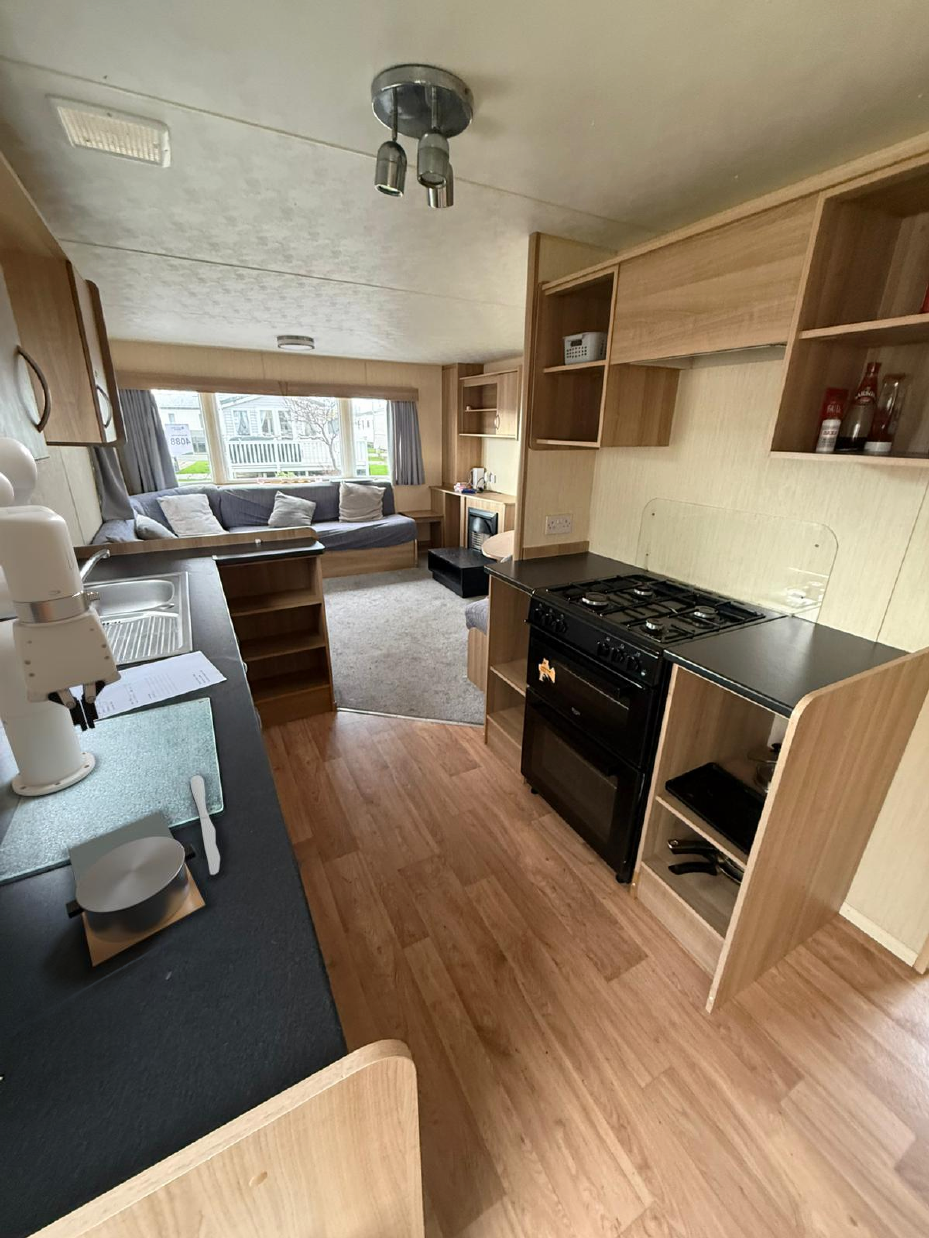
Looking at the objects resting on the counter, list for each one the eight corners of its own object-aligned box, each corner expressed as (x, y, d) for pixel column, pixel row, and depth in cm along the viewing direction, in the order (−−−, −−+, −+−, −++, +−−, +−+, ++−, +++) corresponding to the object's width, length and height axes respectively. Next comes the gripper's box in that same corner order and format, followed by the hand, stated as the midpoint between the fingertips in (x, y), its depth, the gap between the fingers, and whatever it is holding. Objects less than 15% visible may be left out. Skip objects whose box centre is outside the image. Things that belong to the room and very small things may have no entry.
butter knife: (206, 771, 97) (189, 776, 96) (227, 869, 76) (205, 877, 74) (206, 774, 98) (189, 778, 96) (227, 872, 76) (205, 880, 75)
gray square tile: (68, 851, 79) (68, 849, 79) (161, 812, 88) (160, 811, 88) (79, 902, 71) (79, 900, 71) (180, 854, 79) (180, 852, 79)
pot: (69, 904, 70) (58, 873, 68) (186, 848, 80) (179, 819, 78) (83, 971, 61) (71, 937, 59) (212, 899, 71) (205, 868, 69)
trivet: (79, 902, 71) (79, 900, 71) (180, 854, 79) (180, 852, 79) (93, 967, 62) (93, 966, 62) (205, 906, 70) (205, 904, 70)
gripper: (114, 590, 74) (140, 699, 81) (-23, 612, 65) (19, 734, 71) (124, 602, 69) (151, 718, 75) (-23, 628, 60) (22, 758, 66)
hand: (87, 725), depth 73 cm, fingers closed
